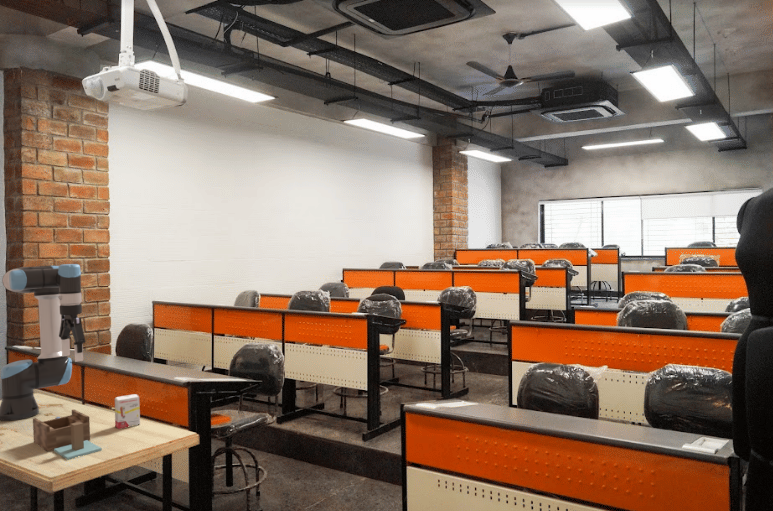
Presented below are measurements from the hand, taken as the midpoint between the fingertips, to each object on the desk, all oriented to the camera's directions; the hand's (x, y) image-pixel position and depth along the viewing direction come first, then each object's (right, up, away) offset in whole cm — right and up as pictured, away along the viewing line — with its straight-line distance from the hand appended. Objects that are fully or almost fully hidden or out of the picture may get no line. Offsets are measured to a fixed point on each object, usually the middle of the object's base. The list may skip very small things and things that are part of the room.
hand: (72, 358), depth 221 cm
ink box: (+17, -29, +10) cm, 35 cm away
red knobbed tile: (-7, -30, +3) cm, 31 cm away
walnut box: (0, -30, -7) cm, 31 cm away
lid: (+12, -30, -18) cm, 37 cm away
